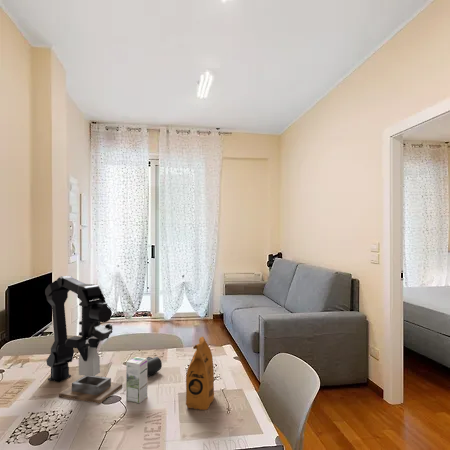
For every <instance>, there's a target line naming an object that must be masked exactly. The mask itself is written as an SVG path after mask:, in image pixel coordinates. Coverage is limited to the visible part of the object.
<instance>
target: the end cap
mask: <svg viewBox="0 0 450 450" xmlns="http://www.w3.org/2000/svg"><path fill="white" fill-rule="evenodd" d="M146 358H147V378H148V377H150V376H152V375H154V374H156V373H158V372H159V371H161V369H162V368H163V367H162V366H163V364H162V359H161V358H160V357H158V356H154V357H150V356H147V357H146Z"/></svg>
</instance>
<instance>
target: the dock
mask: <svg viewBox="0 0 450 450" xmlns="http://www.w3.org/2000/svg"><path fill="white" fill-rule="evenodd" d="M121 387H122V388H123V383H118V382H112V378H111V377H106V376H100V375H95V376H85V375H82V376H81V377H80V378H78V379H76V380H75V381H73V382H71V386H69V387H67V388H66V389H64V390H62V391H60V392H59V393H58V397H61V398H65V399H71V400H77V401H83V402H88V403H95V404H101V403H102V402H104V401H105V400H106V398H107V399H108V398H109V397H110V396H112V395H114V392H115V393H116V392H118V391H119V390H120V389H121ZM118 389H119V390H118Z"/></svg>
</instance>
